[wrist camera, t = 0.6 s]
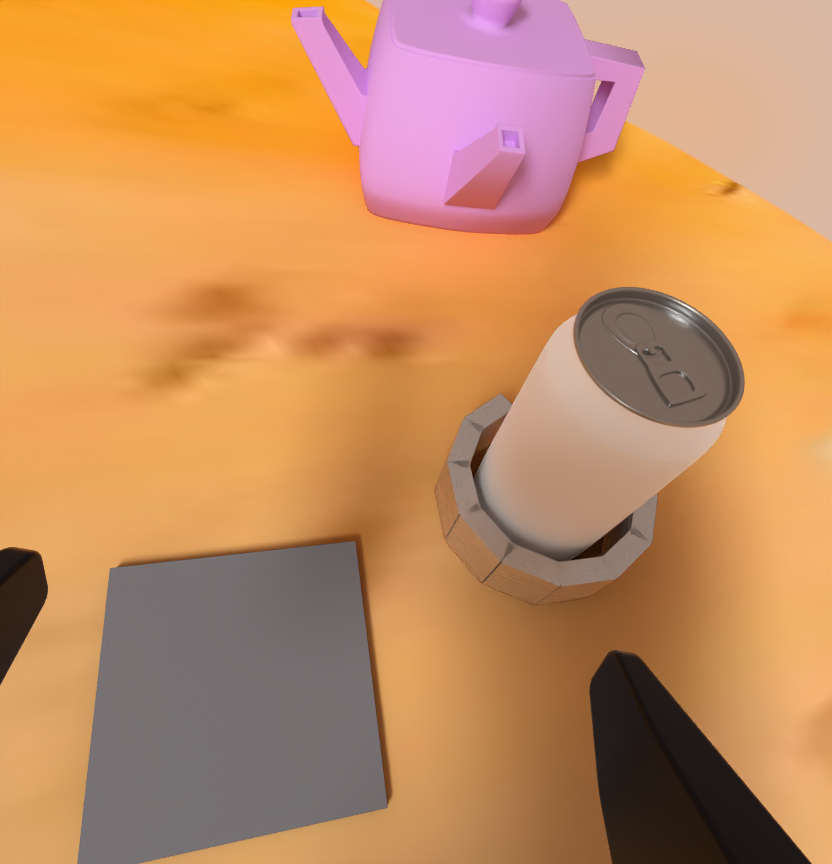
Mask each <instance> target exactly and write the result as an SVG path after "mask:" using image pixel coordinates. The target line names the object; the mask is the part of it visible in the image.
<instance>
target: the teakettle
mask: <svg viewBox="0 0 832 864" xmlns="http://www.w3.org/2000/svg"><path fill="white" fill-rule="evenodd" d="M291 21H292V26H293V27H294V29H295V31H296V33H297V35H298V37H299V39H300V41H301V43H302V45H303V47H304V49H305V51H306V53H307V55H308V57H309V59H310V61H311V63H312V65H313V67H314V69H315V71H316V73H317V75H318V77H319V79H320V81H321V83H322V85H323V87H324V89H325V90H326V92H327V94H328V96H329V98H330V100H331V102H332V104H333V106H334V108H335V110H336V112H337V114H338V116H339V118H340V120H341V122H342V124H343V126H344V128H345V130H346V132H347V134H348V136H349V138H350V140H351V142H352V144H353V145H354V146H358V147H359V157H360V174H361V183H362V189H363V194H364V199H365V203H366V206H367V209H368V211H369V212H370V213H372V214H374V215H376V216H379V217H383V218H386V219H390V220H395V221H399V222H404V223H410V224H415V225H421V226H427V227H433V228H439V229H445V230H453V231H462V232H473V233H491V234H536V233H539V232H542V231H543V230H544V229H545V228H546V227H547V226H548V224H549V223H550V222H551V221H552V220H553V219H554V217H555V216H556V215H557V214H558V212H559V210H560V209H561V207H562V204H563V202H564V200H565V197H566V195H567V192H568V189H569V187H570V184H571V181H572V178H573V175H574V172H575V169H576V166H577V163H579V162H582V161H585V160H588V159H591V158H594V157H597V156H600V155H602V154H605V153H608V152H611V151H614V149H615V146H616V144H617V141H618V138H619V136H620V133H621V130H622V128H623V125H624V123H625V120H626V117H627V115H628V112H629V109H630V107H631V104H632V101H633V99H634V96H635V94H636V91H637V88H638V86H639V83H640V80H641V77H642V74H643V72H644V70H645V67H644V65H643V63H642V61H641V59H640V57H639V55H638V53H637V51H633V50H629V49H625V48H620V47H616V46H612V45H607V44H603V43H599V42H594V41H590V40H586V39H584V37H583V35H582V33H581V30H580V28H579V26H578V24H577V21H576V19H575V17H574V16H573V14H572V12H571V10H570V9H569V7H568V5H567V4H566V3H564V2H562V1H559V0H383V2H382V6H381V9H380V13H379V17H378V21H377V24H376V28H375V32H374V37H373V41H372V45H371V50H370V55H369V60H368V66H367V69H365V68H363V67H362V65H361V64H360V63H359V61H358V60H357V58H356V57H355V56H354V54H353V53H352V51H351V50H350V48H349V47H348V46H347V44H346V43H345V41H344V40H343V38H342V37H341V36H340V34H339V33H338V31H337V30H336V29H335V27H334V26H333V24H332V23H331V21H330V20H329V19H328V17H327V16H326V14H325V13H324V7H306V8H293V12H292V17H291ZM596 80H600V81H602V82H601V84H600V86H599V89H598V91H597V94H596V96H595V99H594V101H593V103H592V98H593V93H594V87H595V81H596ZM591 103H592V105H591Z"/></svg>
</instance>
